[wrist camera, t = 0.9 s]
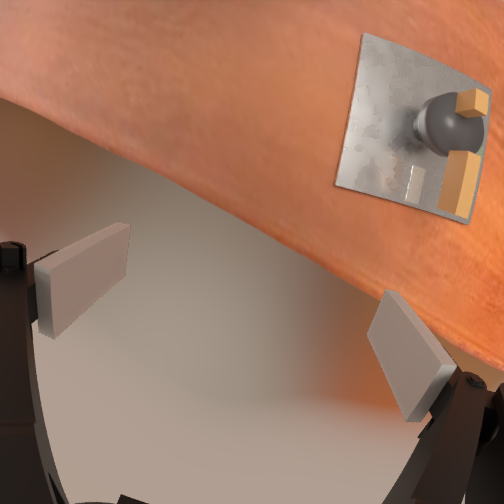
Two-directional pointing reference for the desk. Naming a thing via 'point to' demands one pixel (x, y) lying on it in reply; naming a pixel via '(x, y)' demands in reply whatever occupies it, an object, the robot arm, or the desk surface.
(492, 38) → the desk surface
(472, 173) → the cap
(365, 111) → the post plate
